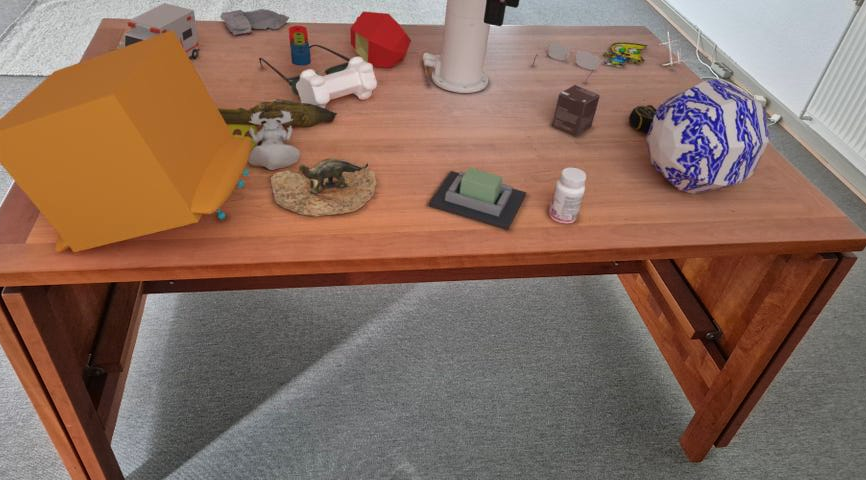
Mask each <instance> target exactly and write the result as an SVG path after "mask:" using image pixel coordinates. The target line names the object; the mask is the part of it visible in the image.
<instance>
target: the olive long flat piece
mask: <svg viewBox="0 0 866 480" xmlns="http://www.w3.org/2000/svg"><path fill="white" fill-rule="evenodd" d="M291 101H292V100H290V101H282V102H278V101H277V102H272V101H262V102H260V103H259V104H256V105H255V106H254V107H250V109H246V108H242V107H239V108H219V107H217V109H218V110H219V112H220V114H221V116H222V117H223V119H224V121H225V122H230V123H250V122H249V121H252V119H251V116H252V115H253V113H254V114H255V113H257V112H261V113H260V115H259V119H263V118H265V119H270V118H271V119H275V118H278V117H279V118H283V116H284V115H283V113H282V112H281V111H287V112H289V113H290V115H291V119H293V120H292V121H290V122H287V123H284V124H281V125H282V126H283V127H286V128H288V127H289V126H291V127H292V128H297V127H298V128H301V127H303V128H309V127H313V126H315V125H318V124H320V123H332V122H333V121H334V119H335V118H336V116H337V115H338V112H333V111H332V110H331V109H329V108H322V107H319V106H316V105H312V104H308V103H301V102H296V101H295V102H291ZM252 118H253V116H252ZM277 121H278V122H279V123H281V121H280V120H277ZM265 123H266V121H262V122H261V124H262V125H261V126H263V124H265ZM250 124H252V123H250ZM289 128H290V127H289Z"/></svg>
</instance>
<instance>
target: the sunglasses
mask: <svg viewBox="0 0 866 480" xmlns="http://www.w3.org/2000/svg"><path fill="white" fill-rule="evenodd" d="M309 47H310V49H311V48H313V47H317V48H320V49H322V50H324V51H327V52H329V53H331V54H333V55H335V56H337V57H339V58H341V59H342V60H344V61H346V62H344V63H340V64H337V65H334V66H333V65H332V66H331V67H329V68H327V69H325V70H323V71H321V72H320V71H319V72H316V71H315V73H316V74H318V75H322V74H325V75H328V74H332V73H336V72H339V71H343V70H345V69H346V68H347V66H348V63H349V61H350V59H351V58H348V57H347V56H345V55H343V54H340V53H339V52H336V51H335V50H332V49H330V48H328V47H325V46H322V45H319V44H311V45H309ZM258 61H259V64H260V67H261V69H264V66H263V63H265V64H266V65H267V66H268V67H269V68H271V69H272V70H273V71H274V72H275V73H276V74H277V75H278V76H279V77H281V78H282V79H283V80H284V81H285V82H286V83H287V84H288V85H289V87H291V92H292V94H294V95H295V96H297V97H300V96H299V93H298V90H297V89H296V84H297V82H298V81H299V79H300V74H299V75H295V76H292V77H286V76H285V75H284V74H282V73H281V72H280V71H279V70H278V69H276V67H274V66H273V65H271V63H269V62H268V61H267V60H265V59H264V58H262V57H259V59H258ZM262 62H263V63H262Z"/></svg>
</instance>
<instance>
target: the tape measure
mask: <svg viewBox="0 0 866 480" xmlns="http://www.w3.org/2000/svg"><path fill="white" fill-rule="evenodd" d="M657 109H658V108H657ZM657 109H656V107H654V106H653V105H652V104H648V105H637V106H636V107H635V108H633V109H632V110H631V112H630V114H629V118H628V121H629V125H630V126H631V127H632V128H633V129H635V130H636V131H637V132H638V131H639V132H641V133H644V134H648V131H649V128H650V126H651V123H652V120H653V117H654V114H655V112H656V111H657Z"/></svg>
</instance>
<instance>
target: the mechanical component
mask: <svg viewBox="0 0 866 480" xmlns="http://www.w3.org/2000/svg"><path fill="white" fill-rule="evenodd" d="M288 37H289V39H288V40H289V47H290V59H291V64H292V65H294V66H299V67H304V66H309V65H311V62H312V61H311V60H312V59H311V48H310V43H309V34H308V28H307V27H306V26H303V25H292V26H290V27H288Z"/></svg>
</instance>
